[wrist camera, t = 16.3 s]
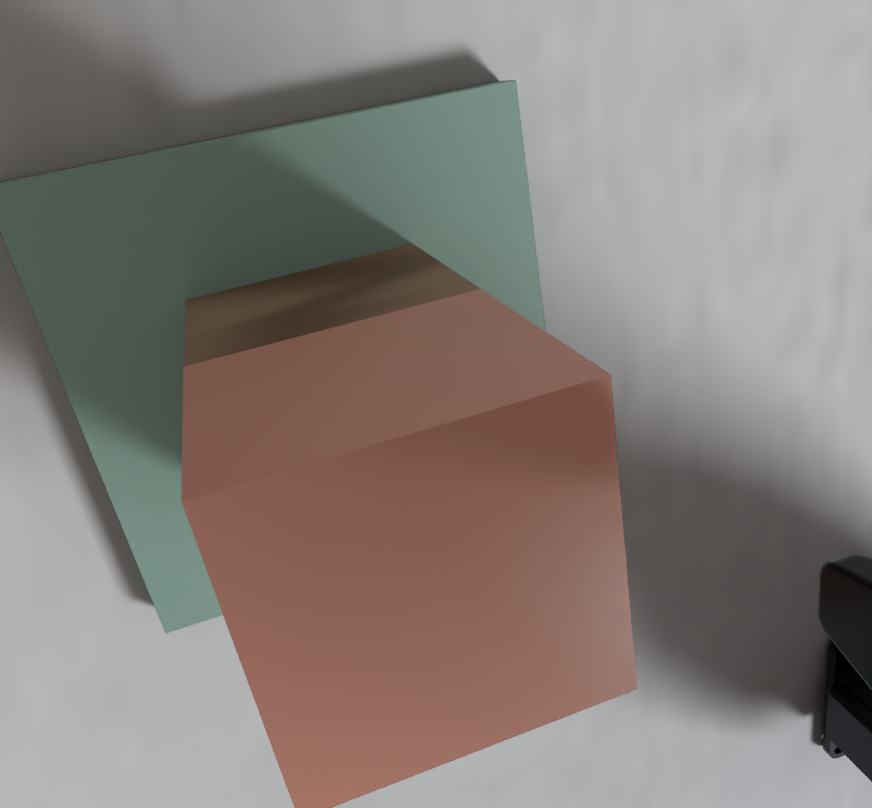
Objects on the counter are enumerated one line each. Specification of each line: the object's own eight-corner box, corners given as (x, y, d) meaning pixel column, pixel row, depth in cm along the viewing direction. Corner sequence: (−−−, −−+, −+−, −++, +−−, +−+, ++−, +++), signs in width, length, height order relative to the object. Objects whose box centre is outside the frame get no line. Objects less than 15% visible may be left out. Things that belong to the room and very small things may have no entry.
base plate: (500, 80, 19) (515, 80, 18) (551, 488, 24) (565, 502, 23) (-8, 183, 17) (-18, 188, 16) (166, 611, 22) (165, 633, 21)
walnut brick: (412, 243, 19) (481, 289, 15) (450, 440, 21) (520, 532, 17) (185, 300, 18) (184, 368, 13) (251, 501, 20) (269, 615, 16)
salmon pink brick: (480, 288, 14) (611, 374, 10) (518, 532, 17) (636, 689, 12) (183, 366, 13) (181, 501, 9) (267, 615, 16) (299, 819, 11)
